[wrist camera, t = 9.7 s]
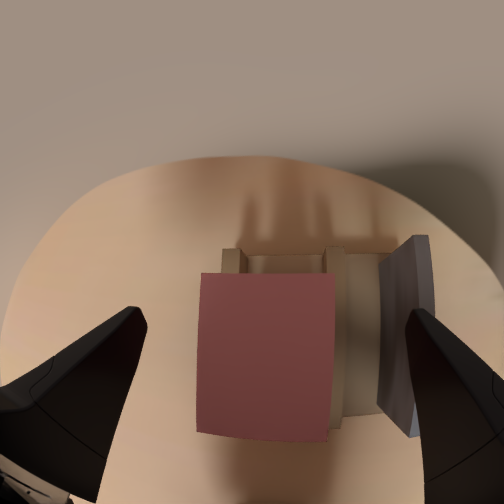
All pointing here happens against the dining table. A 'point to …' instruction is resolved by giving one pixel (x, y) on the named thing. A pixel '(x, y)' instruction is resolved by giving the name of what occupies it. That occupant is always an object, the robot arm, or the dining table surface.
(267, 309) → the red rectangular block
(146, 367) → the dining table surface
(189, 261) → the dining table surface
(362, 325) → the rack
